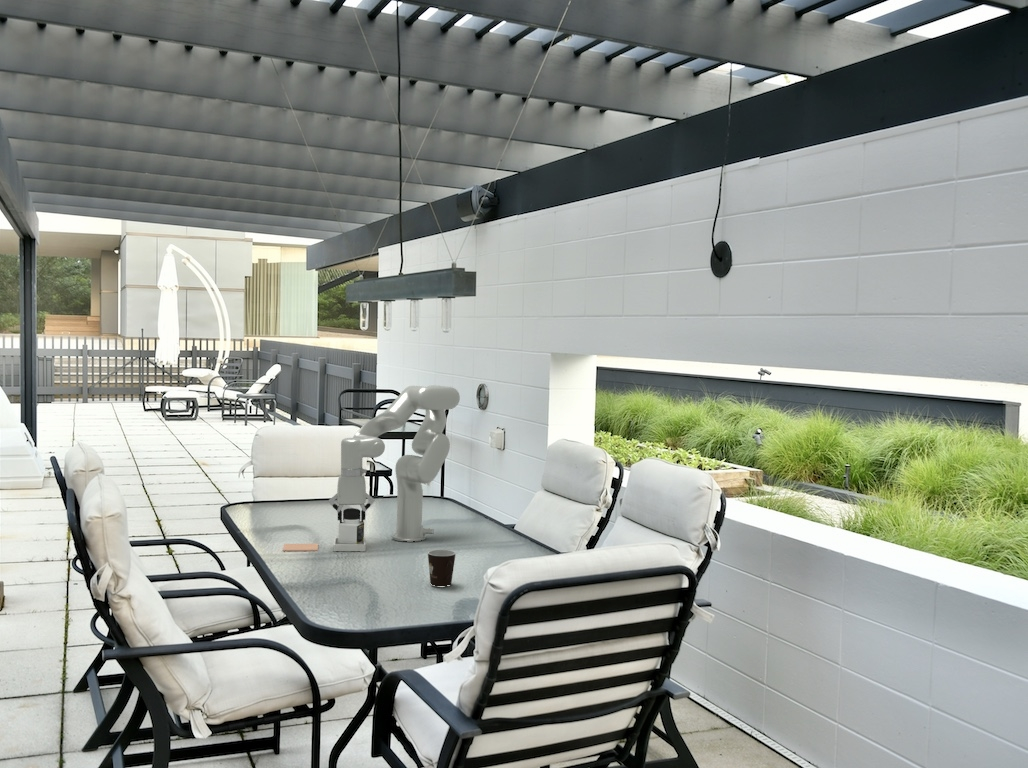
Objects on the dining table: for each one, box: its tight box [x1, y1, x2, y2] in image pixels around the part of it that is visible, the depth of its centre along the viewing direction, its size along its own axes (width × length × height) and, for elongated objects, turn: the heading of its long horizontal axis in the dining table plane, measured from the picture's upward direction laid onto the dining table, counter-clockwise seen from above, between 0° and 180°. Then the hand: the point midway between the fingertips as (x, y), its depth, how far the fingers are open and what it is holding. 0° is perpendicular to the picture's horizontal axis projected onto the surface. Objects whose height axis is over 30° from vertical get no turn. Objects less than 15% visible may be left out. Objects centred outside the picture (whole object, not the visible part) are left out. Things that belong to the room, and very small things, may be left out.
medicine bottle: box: [337, 507, 365, 544], centre depth 335 cm, size 7×7×12 cm
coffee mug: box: [427, 549, 457, 586], centre depth 288 cm, size 12×9×10 cm
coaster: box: [281, 543, 320, 551], centre depth 332 cm, size 12×10×1 cm
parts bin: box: [333, 537, 366, 552], centre depth 335 cm, size 11×11×2 cm
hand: (351, 521), depth 335 cm, fingers closed on medicine bottle, 7 cm apart
